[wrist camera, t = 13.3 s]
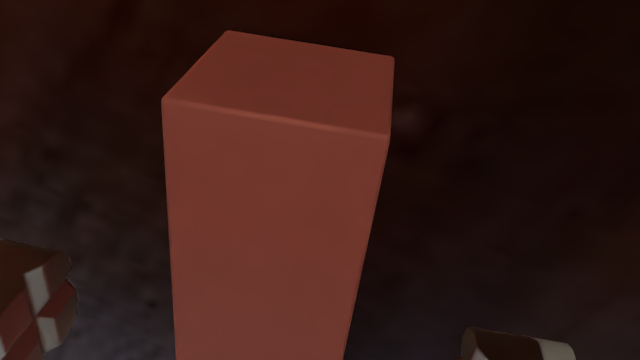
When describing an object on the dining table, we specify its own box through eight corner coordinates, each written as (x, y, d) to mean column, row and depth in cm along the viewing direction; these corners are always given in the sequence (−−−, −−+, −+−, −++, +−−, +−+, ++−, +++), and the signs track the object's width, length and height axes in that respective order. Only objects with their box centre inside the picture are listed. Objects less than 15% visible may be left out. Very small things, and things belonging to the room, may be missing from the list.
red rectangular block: (225, 28, 8) (159, 97, 6) (395, 55, 8) (391, 136, 6) (220, 363, 12) (181, 473, 10) (329, 384, 12) (312, 500, 10)
